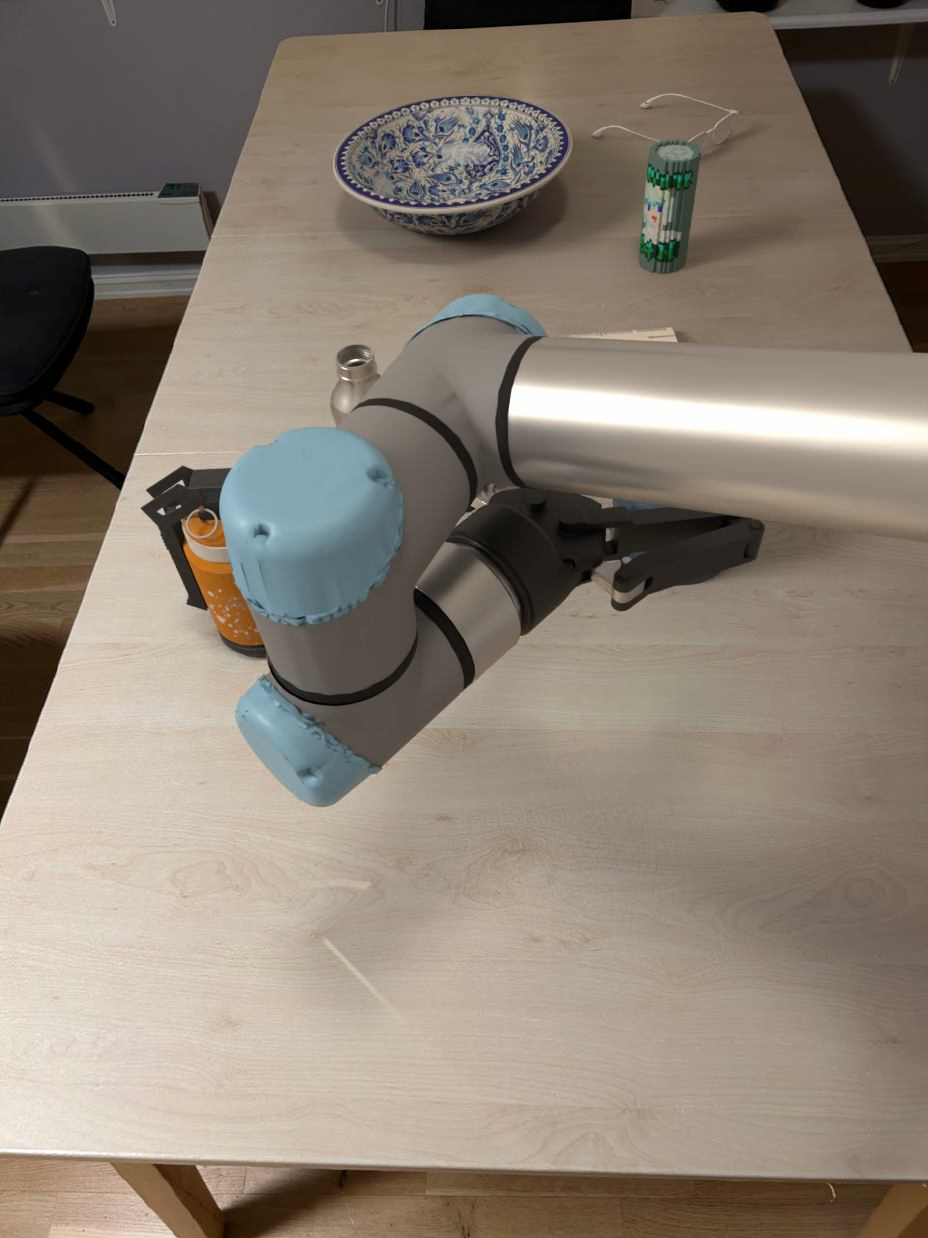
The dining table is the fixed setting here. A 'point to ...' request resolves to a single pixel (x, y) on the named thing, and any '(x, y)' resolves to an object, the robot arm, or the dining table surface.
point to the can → (668, 205)
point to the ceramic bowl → (453, 161)
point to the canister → (203, 552)
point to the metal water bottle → (352, 378)
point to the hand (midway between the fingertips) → (694, 409)
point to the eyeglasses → (698, 139)
